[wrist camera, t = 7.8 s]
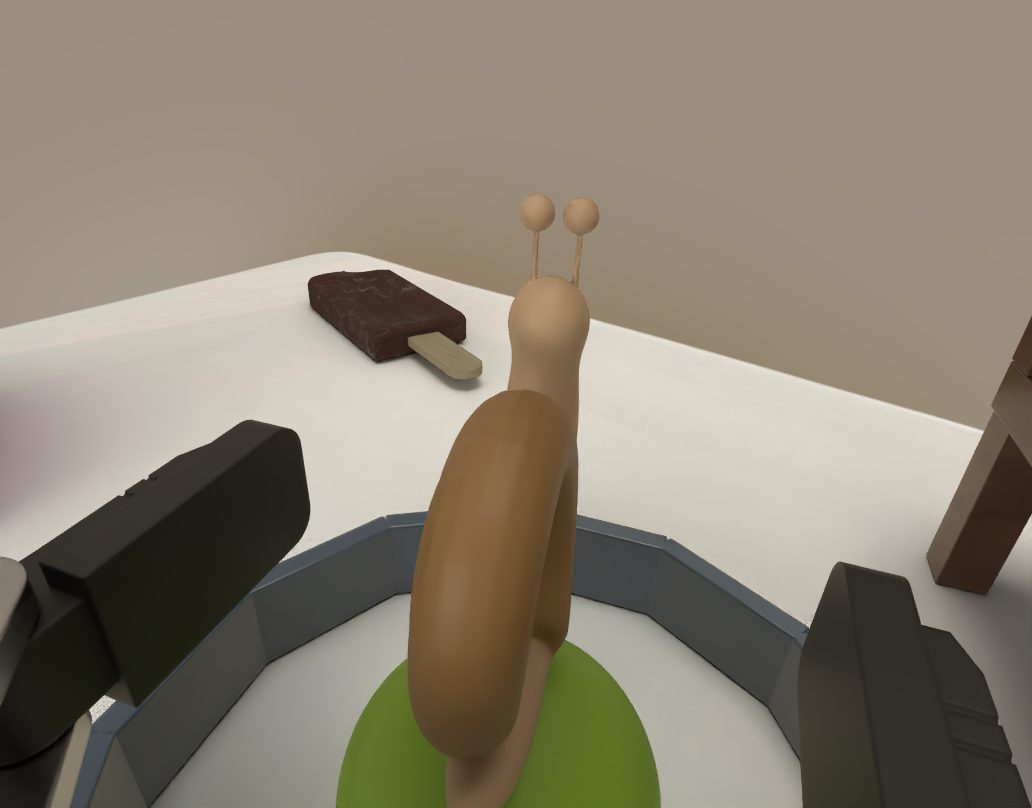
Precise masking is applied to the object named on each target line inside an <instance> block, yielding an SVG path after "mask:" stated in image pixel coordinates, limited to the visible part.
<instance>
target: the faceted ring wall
mask: <svg viewBox="0 0 1032 808" xmlns="http://www.w3.org/2000/svg"><path fill="white" fill-rule="evenodd" d="M427 513H428V511H426V512H415V513H404V514H393V515H387V516H386V519H385V518H384V517H379V518H377V519H375V520H373V521H371V522H368V523H366V524H364V525H362V526H360V527H357V528H355V529H353V530H351V531H348V532H346V533H344V534H342V535H340V536H337V537H335V538H333V539H331V540H329V541H326V542H324V543H322V544H320V545H318V546H315V547H313V548H311V549H309V550H307V551H304V552H302V553H300V554H298V555H296V556H293V557H291V558H289V559H287V560H285V561H282V562H280V563H278V564H277V565H276V566H275V567H274V568H273V569H272V570H271V571H270V572H269V573H268V574H267V575H266V576H265V577H264V578H263V579H262V580H261V581H260V582H259V583H258V584H257V585H256V586H255V587H254V588H253V589H252V591H251V592H250V593H249V594H248V595H247V596H246V597H245V598H244V599H243V600H242V601H241V602H240V603H239V604H238V605H237V606H236V607H235V608H234V609H233V610H232V611H231V612H230V613H229V614H228V615H227V616H226V617H225V618H224V619H223V620H222V621H221V622H220V623H219V624H218V625H217V626H216V627H215V629H214V630H213V631H212V632H211V633H210V634H209V635H208V636H207V637H206V638H205V639H204V640H203V641H202V642H201V643H200V644H199V645H198V646H197V647H196V648H195V649H194V650H193V651H192V652H191V653H190V654H189V655H188V656H187V657H186V658H185V659H184V660H183V661H182V662H181V663H180V664H179V665H178V667H177V668H176V669H175V670H174V671H173V672H172V673H171V674H170V675H169V676H168V677H167V678H166V679H165V680H164V681H163V682H162V683H161V684H160V685H159V686H158V687H157V688H156V689H155V690H154V691H153V692H152V693H151V694H150V695H149V696H148V697H147V698H146V699H145V700H144V701H143V702H142V703H141V705H140V706H139V707H138V708H134V707H132V706H130V705H127V704H125V703H122V702H120V701H117V700H116V701H115V702H114V703H113V704H112V705H111V706H110V707H109V708H108V709H107V710H106V711H105V712H104V713H103V714H102V715H101V716H100V717H99V718H98V719H97V720H96V721H95V722H94V723H93V724H92V727H91V732H90V736H89V739H88V743H87V747H86V750H85V754H84V758H83V761H82V765H81V769H80V772H79V776H78V780H77V783H76V787H75V791H74V794H73V798H72V802H71V805H70V808H148V807H149V806H150V804H151V803H152V802H153V801H154V800H155V798H156V797H157V796H158V795H159V793H160V792H161V791H162V790H163V789H164V787H165V786H166V785H167V784H168V783H169V781H170V780H171V779H172V778H173V777H174V775H175V774H176V773H177V772H178V770H179V769H180V768H181V767H182V766H183V764H184V763H185V762H186V761H187V760H188V758H189V757H190V756H191V755H192V754H193V752H194V751H195V750H196V749H197V747H198V746H199V745H200V744H201V743H202V741H203V740H204V739H205V738H206V737H207V735H208V734H209V733H210V732H211V731H212V729H213V728H214V727H215V726H216V724H217V723H218V722H219V721H220V720H221V718H222V717H223V716H224V715H225V714H226V712H227V711H228V710H229V709H230V708H231V706H232V705H233V704H234V703H235V701H236V700H237V699H238V698H239V697H240V695H241V694H242V693H243V692H244V691H245V689H246V688H247V687H248V686H249V685H250V683H251V682H252V681H253V680H254V678H255V677H256V676H257V675H258V674H259V672H260V671H261V670H262V669H263V668H264V666H265V665H266V664H267V663H269V662H270V661H272V660H274V659H276V658H278V657H280V656H281V655H283V654H285V653H287V652H289V651H291V650H292V649H294V648H296V647H298V646H300V645H302V644H304V643H305V642H307V641H309V640H311V639H313V638H315V637H316V636H318V635H320V634H322V633H324V632H326V631H327V630H329V629H331V628H333V627H335V626H337V625H339V624H340V623H342V622H344V621H346V620H348V619H350V618H351V617H353V616H355V615H357V614H359V613H361V612H362V611H364V610H366V609H368V608H370V607H372V606H374V605H375V604H377V603H379V602H381V601H383V600H385V599H386V598H388V597H390V596H392V595H394V594H397V593H406V592H412V586H413V579H414V572H415V566H416V560H417V555H418V550H419V545H420V541H421V536H422V532H423V528H424V524H425V520H426V517H427ZM572 593H573V594H577V595H580V596H584V597H588V598H591V599H595V600H598V601H602V602H605V603H609V604H613V605H616V606H620V607H623V608H627V609H631V610H634V611H638V612H641V613H645V614H648V615H649V616H651V617H652V618H653V619H655V620H656V621H657V622H658V623H660V624H661V625H662V626H664V627H665V628H666V629H668V630H669V631H670V632H672V633H673V634H674V635H675V636H677V637H678V638H679V639H681V640H682V641H683V642H685V643H686V644H687V645H688V646H690V647H691V648H692V649H694V650H695V651H696V652H698V653H699V654H700V655H702V656H703V657H704V658H705V659H707V660H708V661H709V662H711V663H712V664H713V665H715V666H716V667H717V668H719V669H720V670H721V671H722V672H724V673H725V674H726V675H728V676H729V677H730V678H732V679H733V680H734V681H736V682H737V683H738V684H739V685H741V686H742V687H743V688H745V689H746V690H747V691H749V692H750V693H751V694H753V695H754V696H755V697H756V698H758V699H759V700H760V701H762V702H763V703H764V704H766V705H767V706H768V707H769V708H770V710H771V712H772V713H773V715H774V717H775V718H776V720H777V722H778V723H779V725H780V727H781V728H782V730H783V732H784V733H785V735H786V737H787V738H788V740H789V742H790V744H791V745H792V747H793V749H794V750H795V752H796V754H797V755H798V757H799V759H800V740H799V721H798V702H797V679H798V669H799V663H800V657H801V653H802V649H803V645H804V642H805V640H806V637H807V634H808V632H809V628H808V627H807V626H806V625H804V624H803V623H801V622H800V621H798V620H797V619H795V618H793V617H792V616H790V615H789V614H787V613H786V612H784V611H783V610H781V609H780V608H778V607H777V606H775V605H773V604H772V603H770V602H769V601H767V600H766V599H764V598H763V597H761V596H760V595H758V594H756V593H755V592H753V591H752V590H750V589H749V588H747V587H746V586H744V585H743V584H741V583H739V582H738V581H736V580H735V579H733V578H732V577H730V576H729V575H727V574H726V573H724V572H722V571H721V570H719V569H718V568H716V567H715V566H713V565H712V564H710V563H709V562H707V561H705V560H704V559H702V558H701V557H699V556H698V555H696V554H695V553H693V552H692V551H690V550H688V549H687V548H685V547H684V546H682V545H681V544H679V543H678V542H676V541H675V540H673V539H668V540H667V537H666V536H663V535H659V534H655V533H651V532H647V531H643V530H639V529H635V528H630V527H626V526H622V525H618V524H614V523H610V522H606V521H602V520H598V519H594V518H590V517H585V516H581V515H577V519H576V537H575V553H574V568H573V581H572Z"/></svg>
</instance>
